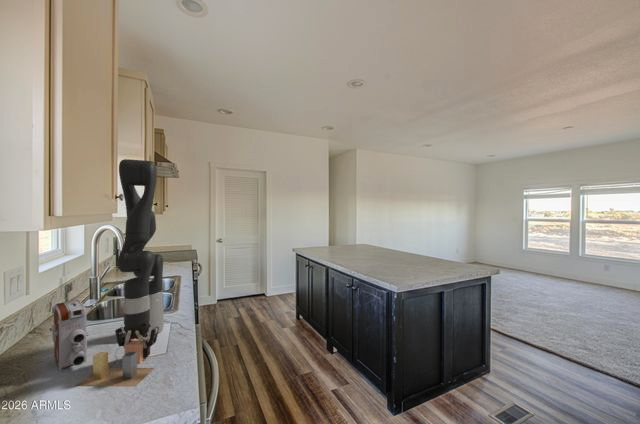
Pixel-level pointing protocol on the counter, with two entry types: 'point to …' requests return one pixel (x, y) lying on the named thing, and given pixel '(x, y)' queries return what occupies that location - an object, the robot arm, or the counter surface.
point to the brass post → (100, 365)
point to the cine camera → (69, 334)
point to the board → (116, 378)
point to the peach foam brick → (135, 349)
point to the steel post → (129, 365)
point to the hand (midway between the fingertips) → (137, 357)
